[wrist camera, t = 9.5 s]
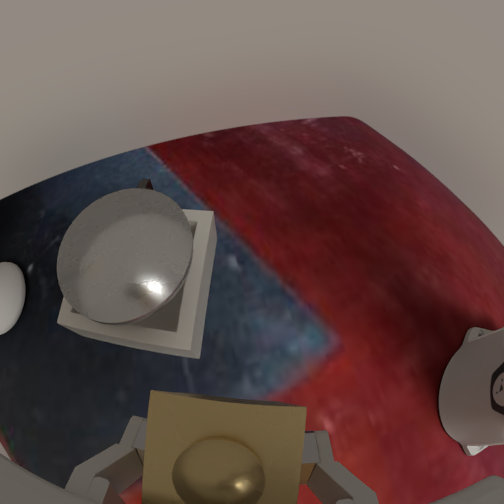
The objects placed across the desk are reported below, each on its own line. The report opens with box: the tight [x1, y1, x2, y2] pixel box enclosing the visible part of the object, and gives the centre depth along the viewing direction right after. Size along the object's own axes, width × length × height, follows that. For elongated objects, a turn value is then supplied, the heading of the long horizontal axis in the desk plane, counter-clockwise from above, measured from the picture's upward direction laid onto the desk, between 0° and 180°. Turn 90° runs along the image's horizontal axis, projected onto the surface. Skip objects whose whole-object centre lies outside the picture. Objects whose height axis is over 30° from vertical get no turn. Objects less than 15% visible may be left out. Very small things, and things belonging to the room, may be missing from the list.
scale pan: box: [57, 179, 193, 326], centre depth 28 cm, size 14×16×6 cm
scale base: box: [57, 209, 217, 359], centre depth 31 cm, size 15×15×6 cm
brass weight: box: [142, 390, 307, 504], centre depth 10 cm, size 4×4×9 cm
